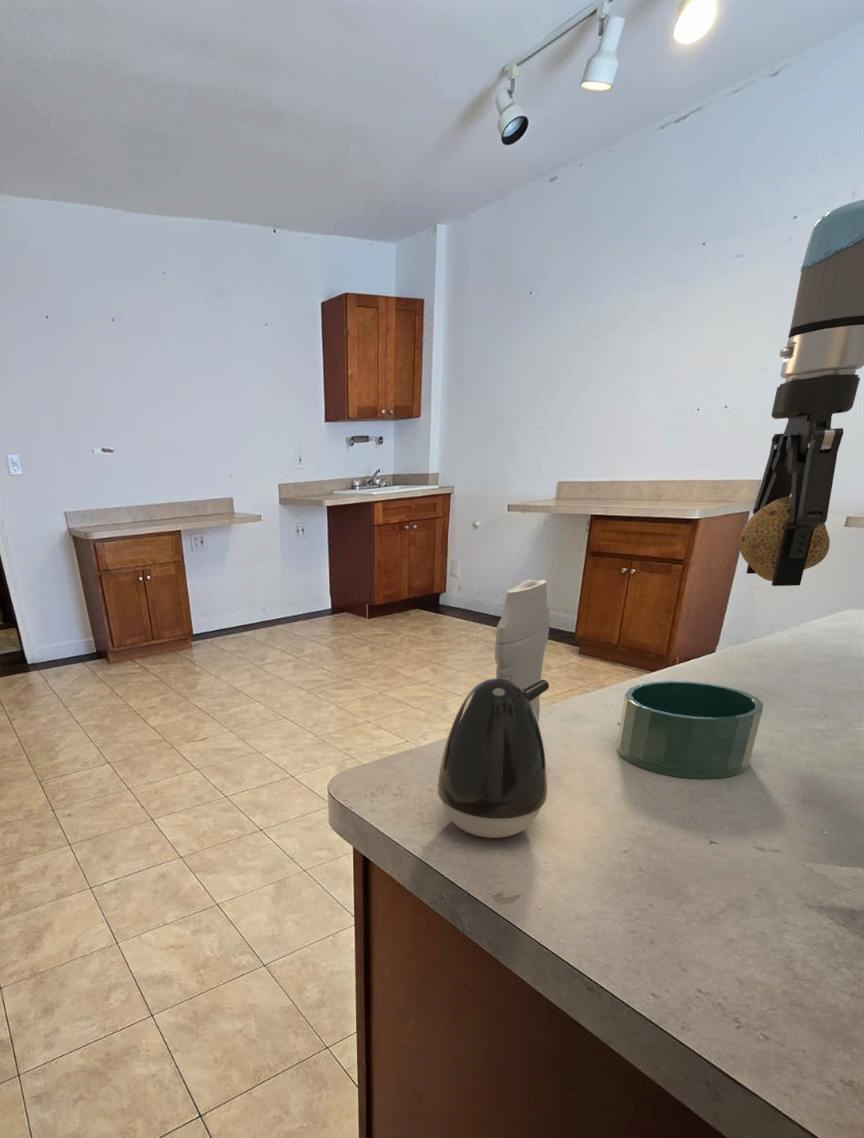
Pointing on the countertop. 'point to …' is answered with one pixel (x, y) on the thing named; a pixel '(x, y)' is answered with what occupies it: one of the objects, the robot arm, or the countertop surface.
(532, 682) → the plastic bottle
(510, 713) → the pump dispenser
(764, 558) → the natural sponge
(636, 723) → the crock
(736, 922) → the countertop surface
